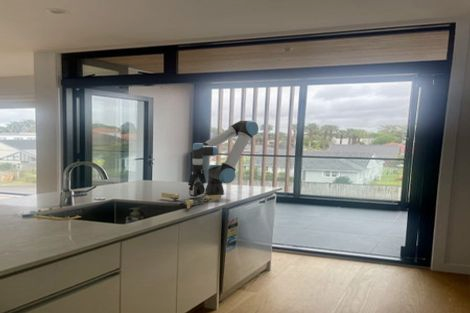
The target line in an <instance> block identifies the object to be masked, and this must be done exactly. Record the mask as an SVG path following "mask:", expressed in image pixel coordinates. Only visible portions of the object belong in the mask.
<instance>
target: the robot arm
mask: <svg viewBox="0 0 470 313" xmlns="http://www.w3.org/2000/svg"><path fill="white" fill-rule="evenodd" d="M259 129H260V128H259V125H258V123H257V121H255V120H251V119H250V120H249V119H248V120H238V121H237V122H235V123H233V124H231V125H229V126H228V127H227V129H225V130H223V131H222V132H221V133H218V134H217V135H215V136H213V137H212V138H210V139H208V140H207V141H204V142H195V143H193V144H192V149H191V150H192V164H191V166H192V170H193V171H191V172H190V177H189V180H188V183H187V184H188V186H189V187H190V194H189V196H190V195H194V186H193V185H194V183H195V182H196V180H197V179H198V180H199V182H202V183H204V184H206V177H205V176H206V175H205V170H203V169H204V168H203V167H204V166H203V163H204V162H203V161H204V157H215V156H218V153H219V149H218V146H220V145H222V144H223V143H225V142H227V141H229V140H231V139H232V138H236V137H237V138H236V141H235V142H234V144H233V146H232V147H231V150H230V151H229V154H228V156H227V157H226V160H225V161H224V162H221V164H210V165H208V167H207V184H206V187H205V191H204V194H205V195H220V194H221V195H224V194H225V190H224V186H223V184H231V183H232V182H233V181H234V180H235V178H236V171H237V170H236V169H237V168H236V166H237V164H238V161H239V160H240V158H241V156H242V154H243V153H244V150H245V149H246V146H247V144H248V143H249V141H251V140H252V139H253V136H254V137H255V136H256V135H257V134H258V133H259V131H260V130H259Z"/></svg>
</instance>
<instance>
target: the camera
mask: <svg viewBox="0 0 470 313" xmlns="http://www.w3.org/2000/svg"><path fill="white" fill-rule="evenodd" d="M193 186H194V195H190V186H189V188H188V190H189V193H188V194H189V196H190V197H193V198H195V197H198V196H201V195H203V194H205V189H206V187H205V183H202V182H201V181H200V180H197V181H196V180H195V183H194V185H193Z"/></svg>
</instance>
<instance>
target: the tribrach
mask: <svg viewBox="0 0 470 313" xmlns="http://www.w3.org/2000/svg"><path fill="white" fill-rule="evenodd" d="M222 195H223V194H222ZM222 195H221V194H220V195H210V194H204V195H203V200H201V199H193V198H188V199H176V200H175V201H174V202H175V203H174V205H175V206H186V209H190V208H191V207H192V205H195V206H201V205H203V203H209V201H211V200H214V201H215V200H222V199H223V198H222V197H223V196H222ZM177 201H179V202H177ZM202 202H203V203H202ZM200 204H201V205H200Z"/></svg>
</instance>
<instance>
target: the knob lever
mask: <svg viewBox="0 0 470 313" xmlns="http://www.w3.org/2000/svg"><path fill="white" fill-rule="evenodd" d="M179 197H180V196H179V193H169V192H161V198H166V199H171V200H180V198H179Z"/></svg>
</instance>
